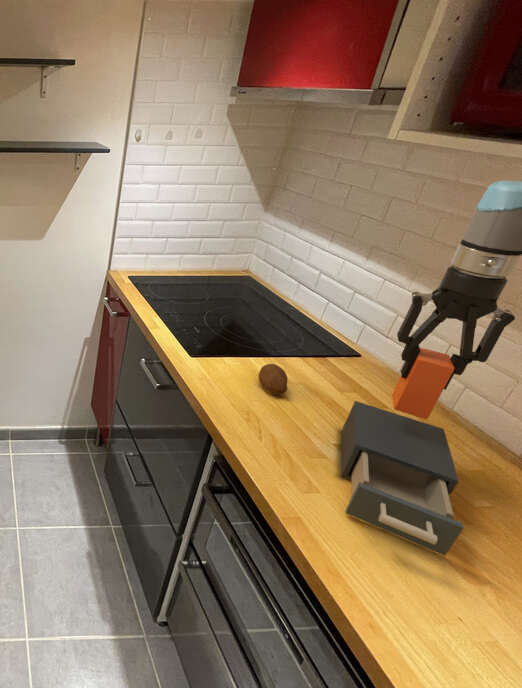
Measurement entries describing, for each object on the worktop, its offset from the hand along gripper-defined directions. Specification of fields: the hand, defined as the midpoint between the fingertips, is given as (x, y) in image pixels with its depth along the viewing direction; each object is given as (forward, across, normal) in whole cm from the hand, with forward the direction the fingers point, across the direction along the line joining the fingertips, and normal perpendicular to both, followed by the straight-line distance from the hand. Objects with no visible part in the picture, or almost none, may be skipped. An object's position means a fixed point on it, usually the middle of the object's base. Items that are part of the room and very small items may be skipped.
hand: (422, 380), depth 88 cm
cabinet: (+20, 0, -4) cm, 21 cm away
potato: (+21, -23, +13) cm, 33 cm away
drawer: (+19, 0, -18) cm, 26 cm away
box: (+7, 0, 0) cm, 7 cm away
